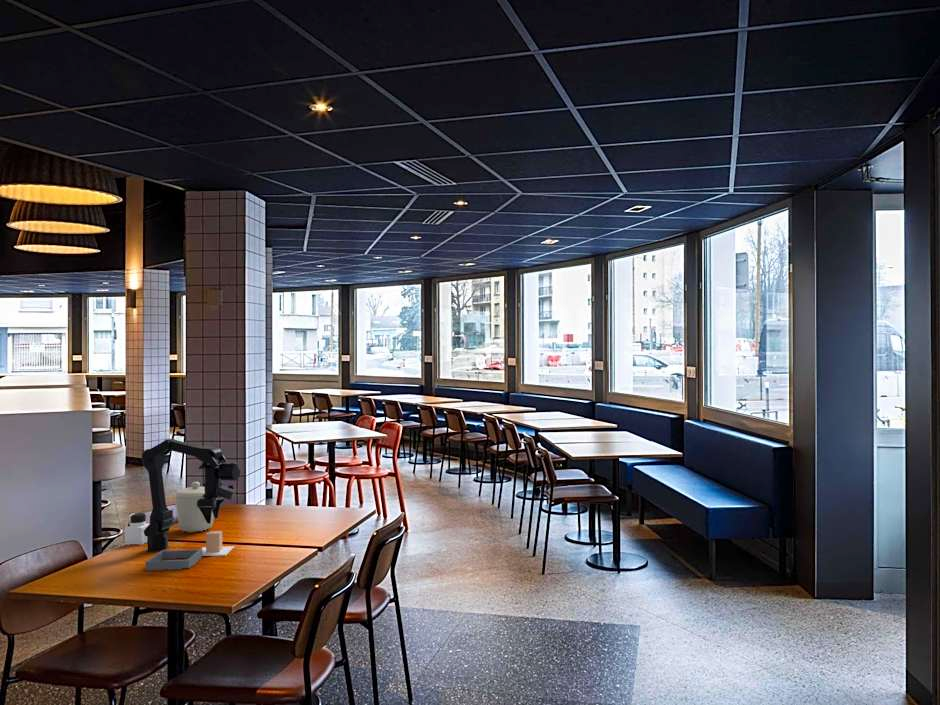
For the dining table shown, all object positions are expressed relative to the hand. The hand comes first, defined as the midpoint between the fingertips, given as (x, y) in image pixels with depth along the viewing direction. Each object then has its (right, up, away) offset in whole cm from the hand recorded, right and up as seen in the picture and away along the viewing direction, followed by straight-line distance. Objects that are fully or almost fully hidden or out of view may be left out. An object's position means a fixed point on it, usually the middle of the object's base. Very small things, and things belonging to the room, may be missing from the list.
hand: (212, 520), depth 279 cm
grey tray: (-8, -12, -16) cm, 21 cm away
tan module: (+1, -11, -1) cm, 11 cm away
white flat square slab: (+1, -12, -1) cm, 12 cm away
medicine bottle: (-36, -13, +16) cm, 41 cm away
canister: (-20, -13, +37) cm, 44 cm away
